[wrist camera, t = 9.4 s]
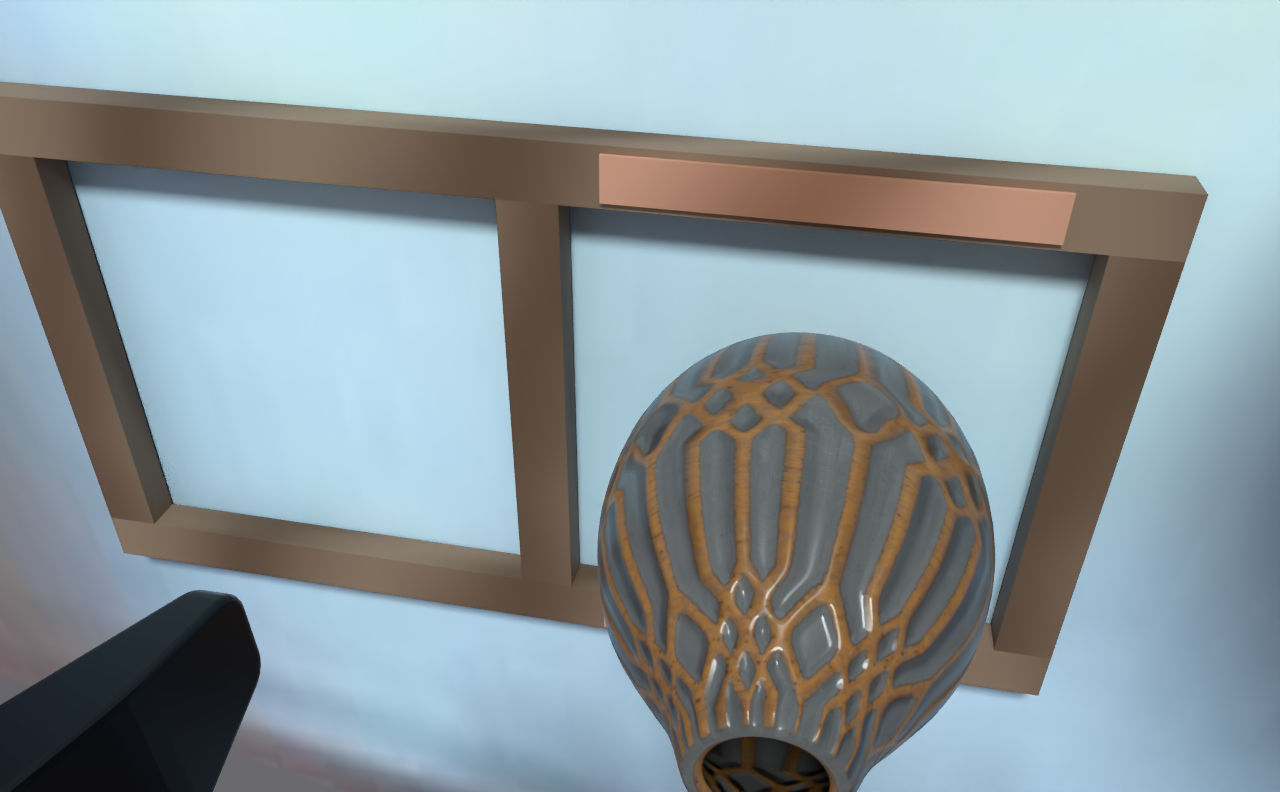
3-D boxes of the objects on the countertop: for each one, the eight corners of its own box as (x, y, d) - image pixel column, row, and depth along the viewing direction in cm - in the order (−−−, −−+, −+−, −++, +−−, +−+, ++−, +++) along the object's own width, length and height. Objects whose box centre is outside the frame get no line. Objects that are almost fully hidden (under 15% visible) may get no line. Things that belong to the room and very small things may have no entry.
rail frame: (1195, 176, 17) (1209, 197, 16) (1034, 668, 24) (1038, 699, 23) (-13, 81, 21) (-45, 94, 20) (142, 532, 27) (121, 555, 27)
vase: (815, 207, 19) (772, 513, 12) (1051, 445, 21) (1140, 837, 13) (577, 410, 22) (433, 740, 15) (796, 597, 24) (758, 972, 17)
